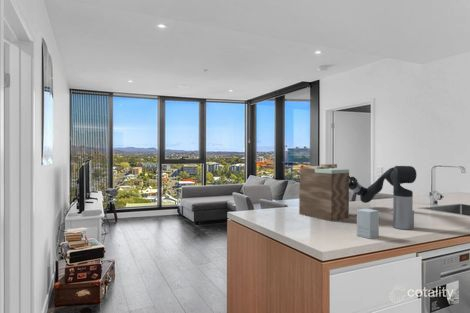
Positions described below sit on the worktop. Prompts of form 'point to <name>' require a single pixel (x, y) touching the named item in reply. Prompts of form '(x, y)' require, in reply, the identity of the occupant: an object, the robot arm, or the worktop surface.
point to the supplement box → (368, 223)
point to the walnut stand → (324, 193)
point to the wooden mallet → (322, 166)
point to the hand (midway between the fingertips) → (340, 174)
